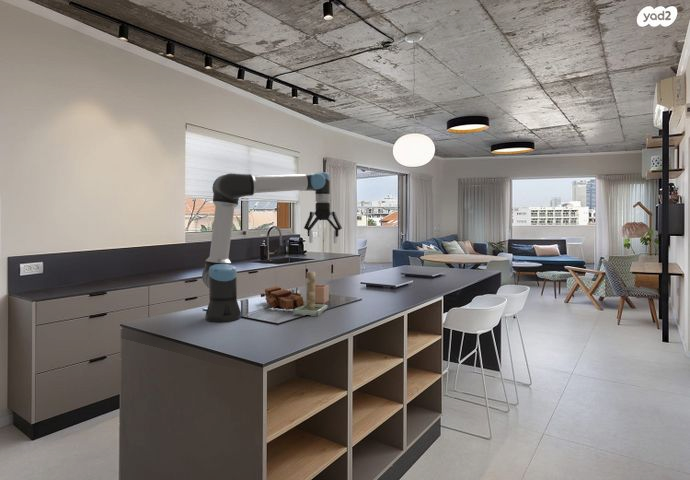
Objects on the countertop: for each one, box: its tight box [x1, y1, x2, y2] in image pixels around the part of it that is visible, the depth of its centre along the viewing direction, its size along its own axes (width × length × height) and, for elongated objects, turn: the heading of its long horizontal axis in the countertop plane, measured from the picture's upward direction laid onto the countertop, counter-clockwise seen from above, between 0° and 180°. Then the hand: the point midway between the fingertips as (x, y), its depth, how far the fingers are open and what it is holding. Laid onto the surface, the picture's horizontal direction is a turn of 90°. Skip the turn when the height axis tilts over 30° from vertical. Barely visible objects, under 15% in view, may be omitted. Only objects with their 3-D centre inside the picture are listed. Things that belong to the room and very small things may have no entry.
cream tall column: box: [305, 271, 316, 311], centre depth 201 cm, size 4×4×18 cm
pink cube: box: [315, 284, 330, 304], centre depth 221 cm, size 8×8×9 cm
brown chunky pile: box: [260, 285, 305, 311], centre depth 213 cm, size 17×9×30 cm
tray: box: [292, 303, 329, 317], centre depth 201 cm, size 12×14×2 cm
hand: (322, 242), depth 225 cm, fingers open, 13 cm apart
